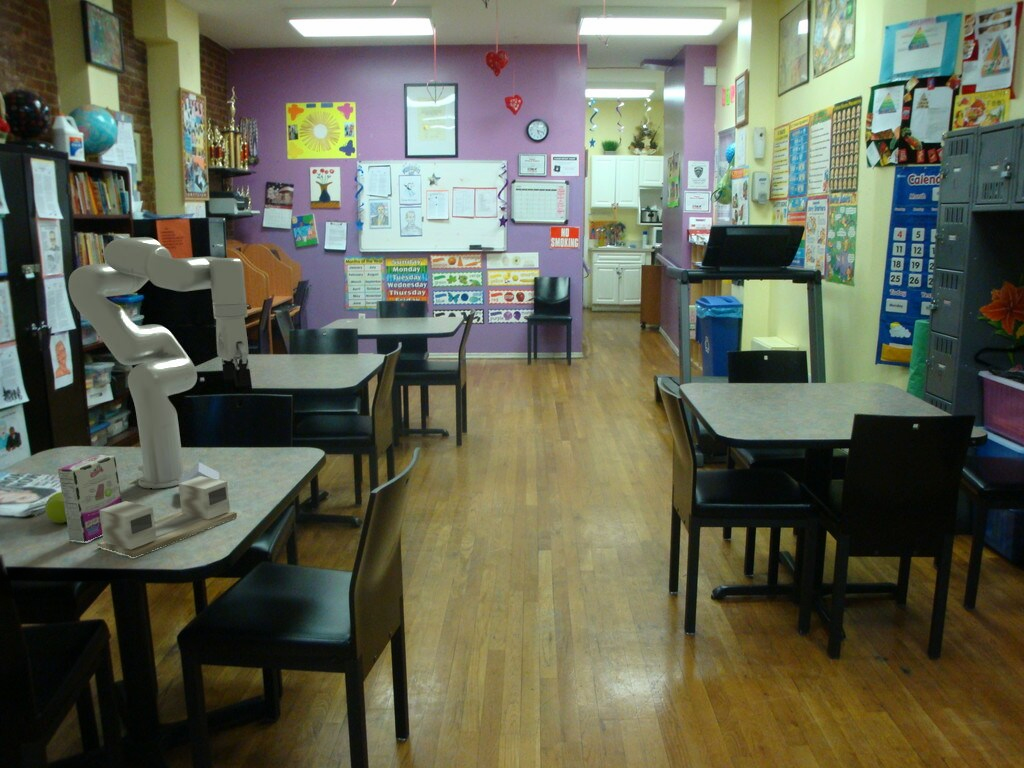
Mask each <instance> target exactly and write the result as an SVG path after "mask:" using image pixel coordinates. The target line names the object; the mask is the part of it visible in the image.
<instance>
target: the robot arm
mask: <svg viewBox="0 0 1024 768" xmlns="http://www.w3.org/2000/svg"><path fill="white" fill-rule="evenodd" d="M103 258H104V261H105V263H104V262H103V263H93V264H87V265H82V266H80V267H78V268H76V269H74V270H73V271H72V273H71V274H70V276H69V278H68V292H69V296H70V299H71V301H72V303H73V306H74V307H75V308H76V310H77V311H78V312H79V314H81V316H82V317H83V318H84V319H85V320H86V321H87V322H88V323H89V324H90V325H91V327H93V329H94V330H95V331H96V333H97V335H98V336H99V337H100V339H101V340H102V342H103V343H104V344H105V346H106V347H107V349H108V350H109V351H110V352H111V354H112V355H113V357H114V358H115V360H116V361H118V363H119V364H121V365H123V366H134V365H136V366H134V367H133V368H131V370H130V371H129V374H128V376H127V384H128V385H127V386H128V389H129V391H130V395H131V398H132V401H133V403H134V408H135V413H136V420H137V428H138V436H139V443H140V451H141V460H142V461H141V462H142V464H141V465H139V466H138V467H137V470H138V471H139V472H142V477H140V478H139V479H138V481H137V482H138V486H139V487H140V488H143V489H150V488H152V489H165V488H166V489H167V488H171V487H175V486H179V485H178V483H181V477H182V476H184V475H185V474H186V473H187V472H188V471H187V470H184V463H183V462H184V461H183V452H182V444H181V436H180V427H179V420H178V413H177V410H176V407H175V406H174V405H173V403H172V401H170V399H169V396H173V395H176V394H180V393H183V392H186V391H189V390H191V389H192V388H194V386H195V385H196V383H197V380H198V372H197V370H196V366H195V364H194V363H193V361H192V359H191V358H190V357H189V356H188V354H187V352H186V351H185V349H184V348H183V347H182V345H181V344H180V343H179V341H178V340H177V338H176V337H175V336H174V334H173V333H172V332H171V331H170V330H169V329H168V328H166V327H165V326H163V325H161V324H154V323H153V324H151V323H150V324H145V325H137V323H136V324H135V322H134V321H132V320H133V319H131V318H130V316H129V315H128V313H127V312H126V311H125V310H124V308H122V307H121V306H119V305H118V304H116V303H115V302H113V301H111V300H109V299H108V298H107V297H116V296H123V295H130V294H133V293H136V292H137V291H138V290H140V289H141V288H142V287H143V286H144V285H145V284H146V283H147V282H148V281H150V282H151V283H152V284H153V285H154V286H156V287H159V288H162V289H167V290H171V291H176V292H189V291H199V290H207V289H210V290H211V300H212V308H213V309H212V310H213V318H214V320H216V323H215V324H216V325H215V326H216V327H215V329H216V330H215V332H216V333H215V334H216V335H215V336H216V351H217V352H216V353H217V356H218V357H219V358H221V363H222V364H221V365H222V366H221V367H222V374H223V377H222V378H223V380H224V381H229V380H234V381H235V386H236V387H238V388H239V387H244V386H250V384H251V380H250V379H251V377H250V369H249V367H250V366H249V359H248V358H249V344H248V343H249V342H248V336H247V328H246V327H247V326H246V325H247V324H246V320H245V318H248V305H247V296H246V294H247V293H246V284H245V282H246V281H245V269H244V264H243V261H242V260H241V259H240V258H237V257H217V256H198V257H197V256H195V257H183V258H176V257H172V254H171V253H170V250H169V249H168V248H166V247H165V246H163V245H162V244H161V243H160V242H159V241H158V240H157V239H154V238H153V237H149V236H148V237H147V236H144V237H143V236H142V237H141V236H140V237H122V238H116V239H113V240H112V241H110V242H109V243H107V245H105V248H104V250H103ZM152 489H151V490H152Z"/></svg>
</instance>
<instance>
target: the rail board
mask: <svg viewBox="0 0 1024 768" xmlns="http://www.w3.org/2000/svg"><path fill="white" fill-rule="evenodd" d="M177 486H178V493H179V500H180V501H179V502H180V509H181V511H180V512H178V513H175V514H172V515H170V516H166V517H164V518H162V519H159V520H156V521H155V514H154V508H153V507H152V506H147V505H143V504H139V503H135V502H131V501H127V500H125V501H122V503H119V504H116V505H113V506H110V507H107V508H104V509H101V510H99V511H100V518H101V526H102V533H103V536H102V539H103V540H102V541H99V542H97V547H98V546H100V547H102V548H106V549H109V550H112V551H116V552H119V553H122V554H125V555H129V556H131V557H136V556H139V555H141V554H145V553H147V552H150V551H152V550H155V549H157V548H160V547H163V546H165V545H168V544H170V545H172V544H171V543H173V542H175V543H177V542H176V541H178V540H180V539H183V538H185V537H188V536H190V535H192V534H195V533H197V532H200V531H203V530H205V529H208V528H210V527H213V526H215V527H217V526H216V525H218V526H220V525H222V524H221V523H223V522H225V523H227V522H229V521H228V520H230V521H232V520H234V519H233V518H235V519H237V518H238V513H237V512H236V511H232V510H231V507H230V506H231V505H230V497H229V486H228V481H227V480H224V479H223V480H221V479H219V480H218V479H213V478H208V477H203V476H199V477H196V478H193V479H190V480H187V481H184V482H181V483H178V485H177ZM236 517H237V518H236ZM231 519H232V520H231ZM226 521H227V522H226ZM219 524H220V525H219ZM223 524H224V523H223ZM213 528H214V527H213ZM210 529H211V528H210ZM208 530H209V529H208ZM205 531H206V530H205ZM203 532H204V531H203ZM200 533H201V532H200ZM195 535H196V534H195ZM190 537H191V536H190ZM188 538H189V537H188ZM185 539H186V538H185ZM183 540H184V539H183ZM180 541H181V540H180ZM178 542H179V541H178ZM173 544H174V543H173ZM168 546H169V545H168ZM165 547H166V546H165ZM163 548H164V547H163ZM160 549H161V548H160ZM155 551H156V550H155ZM150 553H151V552H150ZM145 555H146V554H145Z"/></svg>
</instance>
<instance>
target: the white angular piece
mask: <svg viewBox="0 0 1024 768" xmlns="http://www.w3.org/2000/svg"><path fill="white" fill-rule="evenodd" d="M199 476H203V477H208V478H213V479H218V480H220V472H219V471H216V470H215V469H214V468H211V467H209V466H208V465H205V463H202V462H197V463H196V464H195V465H194V466H193V467H191V469H189V470H188V471H187V473H186V474H185V475H184V476H182V477H181V482H184V481H187V480H190V479H193V478H196V477H199Z"/></svg>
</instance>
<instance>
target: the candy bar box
mask: <svg viewBox="0 0 1024 768" xmlns="http://www.w3.org/2000/svg"><path fill="white" fill-rule="evenodd" d="M57 471H58V478H59V484H60V489H61V492H62V496H63V501H64V508H65V514H66V520H67V523H66V526H67V531H68V537H69V541H70V540H76V541H84V542H85V541H88V540H91V539H93V538H95V537H98V536H100V535H102V534H103V533H102V526H101V518H100V511H99V510H101V509H104V508H107V507H110V506H113V505H116V504H119V503H122V502H123V500H122V494H121V486H120V481H119V474H118V467H117V461H116V455H112V454H111V455H110V454H97V455H95V456H92V457H89V458H86V459H83V460H80V461H78V462H74V463H72V464H69V465H67V466H64V467H61V468H58V469H57Z"/></svg>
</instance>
